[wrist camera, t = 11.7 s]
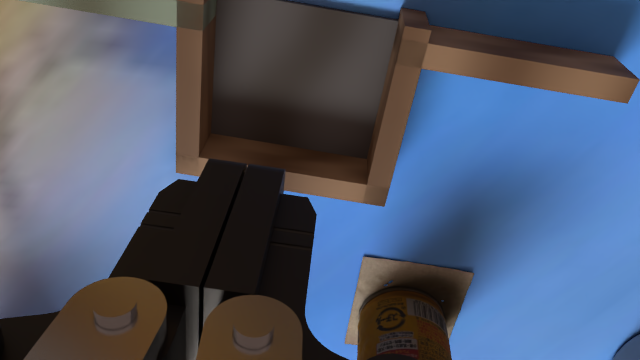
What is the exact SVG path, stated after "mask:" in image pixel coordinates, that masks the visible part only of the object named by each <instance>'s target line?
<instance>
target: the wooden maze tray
mask: <svg viewBox="0 0 640 360" xmlns="http://www.w3.org/2000/svg"><path fill="white" fill-rule="evenodd" d="M21 1H27V2H32V3H38V4H44V5H50V6H56V7H62V8H68V9H74V10H80V11H85V12H91V13H97V14H103V15H109V16H115V17H121V18H127V19H133V20H138V21H144V22H150V23H156V24H162V25H168V26H174V27H177V49H176V173H181V174H187V175H194V176H200V175H201V173H202V171H203V169H204V167H205V165H206V163H207V161H208V159H210V158H211V159H218V160H225V161H232V162H239V163H246V164H247V167H248V165H249V164H254V165H261V166H268V167H275V168H281V169H285V183H284V190H285V191H291V192H298V193H304V194H310V195H316V196H322V197H328V198H334V199H340V200H347V201H353V202H359V203H365V204H371V205H377V206H383V207H384V206H385V203H386V199H387V195H388V191H389V188H390V184H391V180H392V176H393V173H394V169H395V165H396V161H397V158H398V154H399V150H400V146H401V143H402V139H403V135H404V132H405V128H406V124H407V120H408V117H409V113H410V109H411V105H412V102H413V98H414V94H415V90H416V87H417V83H418V79H419V75H420V72H421V69H427V70H433V71H439V72H445V73H451V74H456V75H462V76H468V77H474V78H480V79H486V80H492V81H498V82H504V83H509V84H515V85H521V86H527V87H533V88H539V89H545V90H551V91H557V92H562V93H568V94H574V95H580V96H586V97H592V98H598V99H604V100H610V101H615V102H621V103H627V104H628V102H629V100H630V98H631V96H632V94H633V92H634V90H635V88H636V86H637V84H638V82H639V79H638V78H637V77H636V76H635V75H634V74H633V73H632V72H631V71H629V70H628V69H627V68H626V67H625V66H624V65H623V64H622V63H621V62H619V61H618V60H617V59H616V58H615V57H613V56H607V55H601V54H596V53H590V52H584V51H578V50H572V49H567V48H561V47H555V46H549V45H543V44H537V43H532V42H526V41H520V40H514V39H508V38H502V37H497V36H491V35H485V34H479V33H473V32H468V31H462V30H456V29H450V28H444V27H438V26H433V25H429V22H428V19H427V16H426V13H425V12H424V11H418V10H413V9H407V8H401V10H400V14H399V19H392V18H386V17H380V16H374V15H369V14H363V13H357V12H351V11H345V10H339V9H334V8H328V7H322V6H316V5H310V4H305V3H299V2H293V1H287V0H21Z"/></svg>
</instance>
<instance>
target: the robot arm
mask: <svg viewBox="0 0 640 360" xmlns="http://www.w3.org/2000/svg"><path fill="white" fill-rule="evenodd" d="M284 183H285V169H281V168H275V167H268V166H261V165H254V164H249V165H248V167H247V164H246V163H239V162H232V161H225V160H218V159H211V158H210V159H208V161H207V163H206V165H205V167H204V169H203V171H202V173H201V175H200V177H199V179H198V181H197V182H195V181H188V180H181V179H178V180H177V181H175V182H174V183H172V184H171V185H169V186H168V187H166V188H165V189H163V190H162V191H160V192H159V193H158V195H157V197H156V199H155V200H154V202H153V204H152V205H151V207H150V209H149V213H148V212H147V214H146V215H145V217H144V219H143V220H142V222H141V226H140V227H138V229H137V231H136V232H135V234H134V236H133V237H132V239H131V241H130V242H129V244H128V246H127V247H126V249H125V251H124V253H123V254H122V256H121V258H120V259H119V261H118V263H117V264H116V266H115V268H114V269H113V271H112V273H111V274H110V276H109V278H108V279H103V280H100V281H97V282H94V283H92V284H90V285H88V286H86V287H84V288H83V289H81V290H79V291H78V292H77V293H76V294H74V295H73V296H72V297H71V299H70V300H69V301H68V302H67V303H66V305H65V306H64V307H63V309H62V310H61V311H58V312H54V313H48V314H41V315H32V316H23V317H13V318H4V319H0V360H348V359H346V358H344V357H342V356H339V355H337V354H336V353H334V352H332V351H330V350H329V349H327V348H326V347H324V346H323V345H322V344H321V343H320V342H319V341H318V340H317V339H316V338H315V337H314V336H313V334H312V333H311V331H310V329H309V328H308V325H307V322H306V318H305V304H306V296H307V288H308V280H309V272H310V264H311V255H312V247H313V239H314V231H315V223H316V215H317V214H316V212H315V211H314V209H313V207H312V205H311V203H310V201H309V199H308V198H307V197H300V196H293V195H286V194H283V192H284ZM367 360H418V359H415V358H413V357H410V356H406V355H402V354H393V353H391V354H381V355H376V356H374V357H371V358H369V359H367ZM613 360H640V334H639V335H637V336H636V337H634V338H632V339H631V340H630V341H629V342H627V343H626V344H625V345H624V346H623V347H622V348H621V349H620V350H619V351H618V352H617V354H616V355H615V357H614V359H613Z"/></svg>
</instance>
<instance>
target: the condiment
mask: <svg viewBox="0 0 640 360" xmlns="http://www.w3.org/2000/svg"><path fill="white" fill-rule="evenodd" d="M473 275H474V273H470V272H464V271H460V270H457V269H450V268H443V267H437V266H432V265H425V264H417V263H412V262H409V261H407V262H401V261H393V260H388V259H378V258H370V257H363V260H362V265H361V269H360V274H359V279H358V284H357V288H356V292H355V297H354V301H353V306H352V310H351V315H350V320H349V324H348V329H347V334H346V338H345V344H352V345H358V352H357V353H358V355H357V360H367V359H369V358H371V357H374V356H376V355H381V354H391V353H393V354H402V355H406V356H410V357H413V358H415V359H418V360H452V358H451V351H450V345H449V338H450V335H451V332H452V329H453V327H454V324H455V321H456V319H457V317H458V314H459V312H460V310H461V307H462V304H463V301H464V298H465V296H466V293H467V290H468V288H469V286H470V284H471V281H472V278H473ZM391 280H392V281H393V282H392V283H389V284H388V282H389V281H391ZM385 284H388V285H387V286H384V285H385ZM442 300H444V302H441V301H442Z"/></svg>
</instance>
